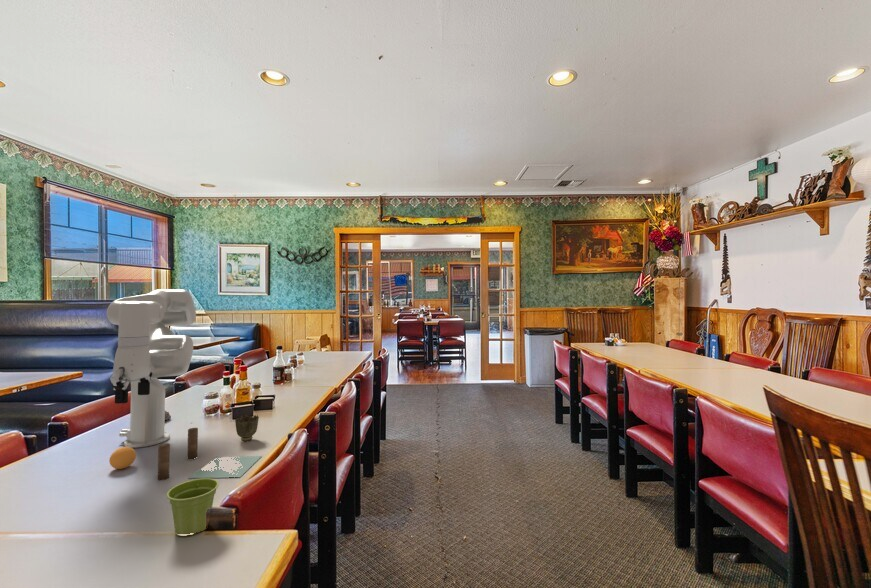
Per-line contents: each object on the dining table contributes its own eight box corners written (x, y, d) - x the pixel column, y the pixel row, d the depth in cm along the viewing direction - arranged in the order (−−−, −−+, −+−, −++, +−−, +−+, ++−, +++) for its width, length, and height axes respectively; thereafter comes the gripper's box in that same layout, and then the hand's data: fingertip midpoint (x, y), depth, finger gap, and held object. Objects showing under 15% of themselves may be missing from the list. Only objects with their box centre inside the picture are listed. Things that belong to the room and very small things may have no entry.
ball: (103, 472, 106) (103, 451, 106) (120, 463, 112) (120, 443, 112) (125, 472, 106) (125, 451, 106) (141, 463, 112) (141, 443, 112)
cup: (262, 437, 134) (263, 414, 134) (250, 445, 127) (250, 421, 127) (243, 436, 135) (243, 414, 135) (230, 444, 128) (230, 420, 128)
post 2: (185, 459, 115) (186, 430, 115) (190, 456, 117) (191, 427, 117) (194, 459, 115) (194, 430, 115) (199, 456, 117) (199, 427, 118)
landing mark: (188, 478, 103) (188, 477, 103) (216, 457, 117) (216, 456, 117) (239, 477, 103) (239, 477, 103) (261, 456, 117) (261, 456, 117)
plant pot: (182, 517, 85) (183, 478, 85) (225, 515, 85) (226, 477, 86) (155, 543, 75) (156, 500, 75) (204, 541, 76) (204, 498, 76)
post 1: (155, 480, 102) (155, 447, 102) (161, 475, 104) (162, 443, 104) (165, 480, 102) (165, 447, 102) (171, 475, 104) (172, 443, 104)
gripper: (140, 339, 122) (138, 392, 121) (98, 346, 105) (97, 407, 104) (164, 339, 123) (163, 391, 122) (127, 345, 105) (126, 406, 105)
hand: (132, 398), depth 113 cm, fingers open, 9 cm apart
